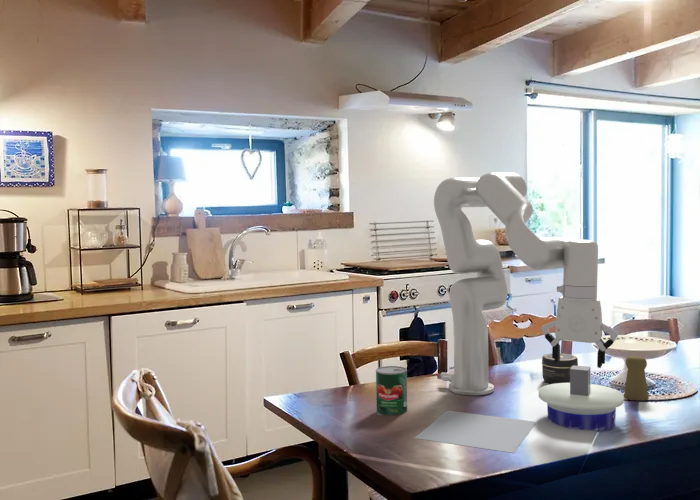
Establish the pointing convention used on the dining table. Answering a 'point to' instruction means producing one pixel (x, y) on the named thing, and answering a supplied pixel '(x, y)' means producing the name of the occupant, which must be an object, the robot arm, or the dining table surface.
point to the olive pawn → (636, 378)
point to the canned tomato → (391, 390)
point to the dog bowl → (582, 418)
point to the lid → (581, 393)
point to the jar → (557, 368)
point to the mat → (478, 431)
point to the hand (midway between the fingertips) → (578, 364)
